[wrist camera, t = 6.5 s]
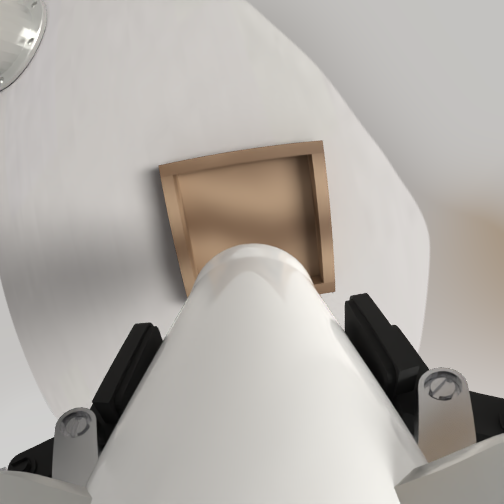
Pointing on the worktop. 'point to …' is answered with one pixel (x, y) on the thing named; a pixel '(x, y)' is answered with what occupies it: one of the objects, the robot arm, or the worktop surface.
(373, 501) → the white tall cup
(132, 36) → the worktop surface
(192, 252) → the tray
